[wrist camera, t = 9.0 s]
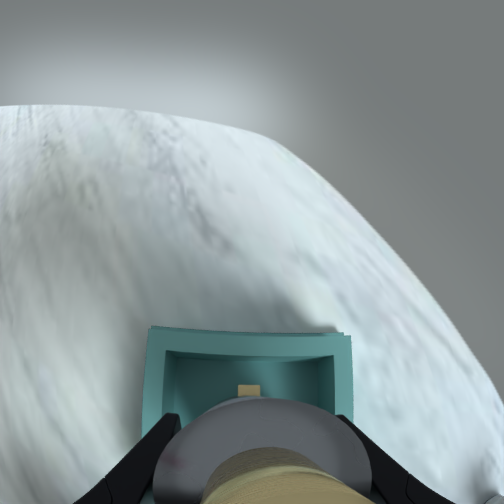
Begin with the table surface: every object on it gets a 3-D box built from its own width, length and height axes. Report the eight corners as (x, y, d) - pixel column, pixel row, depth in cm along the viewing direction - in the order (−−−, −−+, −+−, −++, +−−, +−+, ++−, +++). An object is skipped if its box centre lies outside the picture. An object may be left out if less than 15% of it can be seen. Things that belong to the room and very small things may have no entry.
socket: (338, 502, 12) (359, 521, 9) (147, 500, 11) (130, 520, 8) (340, 334, 17) (362, 320, 14) (153, 327, 17) (136, 312, 14)
